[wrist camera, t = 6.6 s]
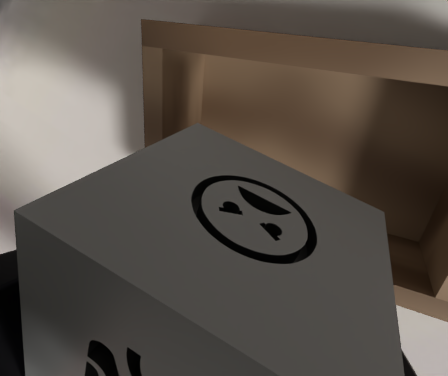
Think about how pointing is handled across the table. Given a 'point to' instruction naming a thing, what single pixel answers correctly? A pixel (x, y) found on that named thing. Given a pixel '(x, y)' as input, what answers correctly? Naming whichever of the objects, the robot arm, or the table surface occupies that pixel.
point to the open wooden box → (322, 125)
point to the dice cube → (205, 270)
